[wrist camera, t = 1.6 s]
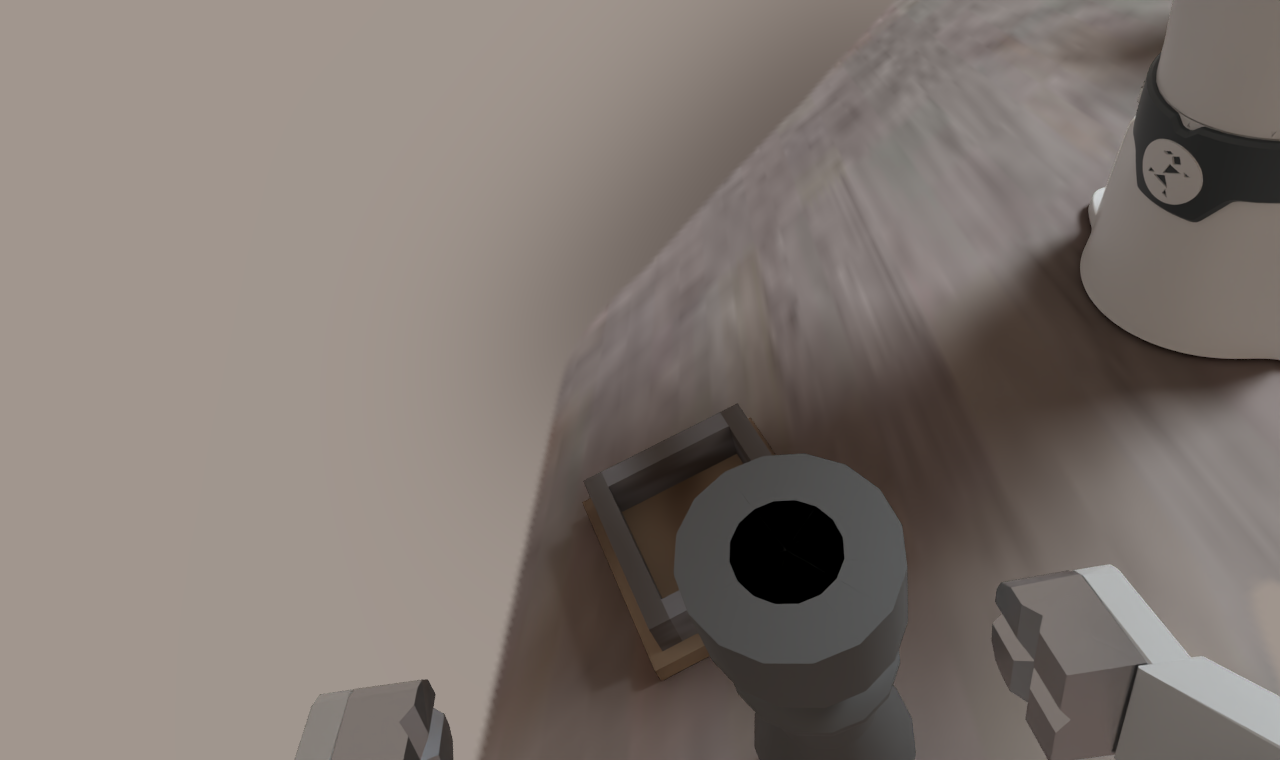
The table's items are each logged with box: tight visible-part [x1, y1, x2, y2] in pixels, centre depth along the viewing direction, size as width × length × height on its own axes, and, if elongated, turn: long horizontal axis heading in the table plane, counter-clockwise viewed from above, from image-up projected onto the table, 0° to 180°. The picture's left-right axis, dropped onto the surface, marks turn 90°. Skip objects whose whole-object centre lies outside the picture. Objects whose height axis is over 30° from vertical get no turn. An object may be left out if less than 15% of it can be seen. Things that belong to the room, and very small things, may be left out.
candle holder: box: [674, 453, 916, 760], centre depth 29 cm, size 6×6×25 cm
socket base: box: [582, 404, 776, 681], centre depth 47 cm, size 12×12×4 cm
